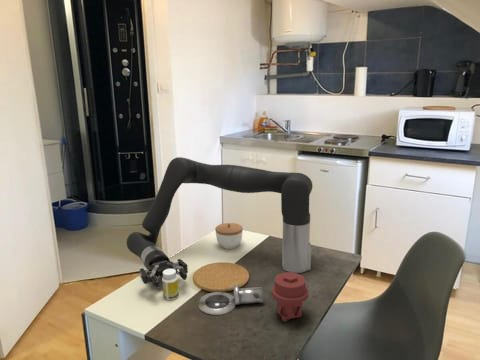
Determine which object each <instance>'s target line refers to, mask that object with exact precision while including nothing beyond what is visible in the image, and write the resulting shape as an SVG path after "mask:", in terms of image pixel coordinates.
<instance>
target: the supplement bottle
mask: <svg viewBox="0 0 480 360" xmlns="http://www.w3.org/2000/svg"><path fill="white" fill-rule="evenodd" d="M161 278H162V279H161V282H162V295H163V299H164V300H166V301H173V300H177V299H178V298H179V296H180V290H179V277H178V275H177V274H176V270H175V269H166V270H164V271H163V276H162V277H161Z"/></svg>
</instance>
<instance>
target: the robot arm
mask: <svg viewBox="0 0 480 360" xmlns="http://www.w3.org/2000/svg"><path fill="white" fill-rule="evenodd" d="M166 167H167V168H166V169H165V173H164V176H163V178H162V181H161V183H160V187H159V188H158V192H157V193H156V196H155V198H154V200H153V202H152V204H151V206H150V208H149V209H148V211H147V213H146V214H145V217H144V218H143V220H142V222H141V226H142V228H143V229H144V230H145V231H147V232H148V233H149V234H145V233H142V232H140V231H139V232H138V231H134V232H133V231H132V232H130V234H129V235H128V237H127V239H126V247H127V249H128V250H129V252H131V253H132V254H134V255H135V256H136V257H138V258H139V259H140V261H141V262H142V264H143V266H144V267H145V268H146V269H144V268H140V269H139V272H140V274H139V275H140V278H141V281H142V282H143V284H144V285H147V284H149V283H150V284H151V285H152V286H153V287H155V288H157V289H158V288H160V282H159V281H160V280H159V278H163V271H164V270H166V269H175V270H176V276H179V277H180V278H181V279H182V280H183V281H186V280H187V278H188V273H189V268H188V267H189V266H188V264H187V263H186V262H185V261H184V260H182V259H181V258H178V259H177V261H175V262H174V261H171V260H170V258H169V257H168V255H166V253H165V252H164V251H163V250H162V248H160V247H158V245H157V242H158V237H159V235H160V231H161V229H162V227H163V225H164V223H165V221H166V220H167V218H168V215H169V213H170V210H171V205H172V202H173V198H174V197H175V194H176V192H177V191H178V190H179V188H180V187H181V186H182V184H198V185H199V184H202V185H210V186H213V187H216V188H217V189H221V190H225V191H230V192H234V193H235V192H236V193H243V194H256V193H267V192H269V193H278V194H280V195H281V196H280V198H281V199H280V203H281V205H280V207H281V216H282V249H281V250H282V253H281V255H282V261H281V263H282V265H281V267H282V269H283V270H284V271H286V272H292V273H297V274H300V273H304V272H307V271H311V267H312V266H311V263H312V262H311V260H312V257H311V256H312V244H311V241H310V239H311V238H310V236H311V235H310V234H311V231H310V230H311V213H310V194H311V193H312V191H313V181H312V179H311V178H310V177H309V176H308V175H307V174H304V173H301V172H285V171H284V172H282V171H272V170H271V171H270V170H266V169H260V168H255V167H249V166H245V165H244V166H243V165H236V164H207V163H204V162H200V161H197V160H193V159H190V158H186V157H183V156H181V157H180V156H179V157H175V158H173V159H172V160H170V161H169V162H168V165H167V166H166Z"/></svg>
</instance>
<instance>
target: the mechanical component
mask: <svg viewBox="0 0 480 360" xmlns="http://www.w3.org/2000/svg"><path fill="white" fill-rule="evenodd" d="M271 296H272V298H273V300H275V301H276V302H277V305H276V312H277V313H278V315H279V316H280V317H281V320H282V322H285V323H286V322H287V321H290V320H291V319H297V318H301V317H302V316H303V315H302V314H303V303H304V302H305V301H306V300H308V297H309V289H308V287H307V286H306V278H305V277H304V276H303V275H302V274H300V273H292V272H288V271H286V272H282V273H281V272H280V273H279V274H277V275H276V276H275V278H274V284H273V286H272V287H271Z"/></svg>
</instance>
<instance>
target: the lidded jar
mask: <svg viewBox="0 0 480 360" xmlns="http://www.w3.org/2000/svg"><path fill="white" fill-rule="evenodd" d="M214 229H215V236H216V241H217V242H218V243H217V244H219V245H220V246H221V247H222V248H223V249H227V250H232V249H236V248H237V247H238V246H239V245H240V244H241V241H242V239H243V226H242V225H241V224H239V223H237V222H236V223H235V222H225V223H220V224H218V225H217V226H216V227H215V228H214Z"/></svg>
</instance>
